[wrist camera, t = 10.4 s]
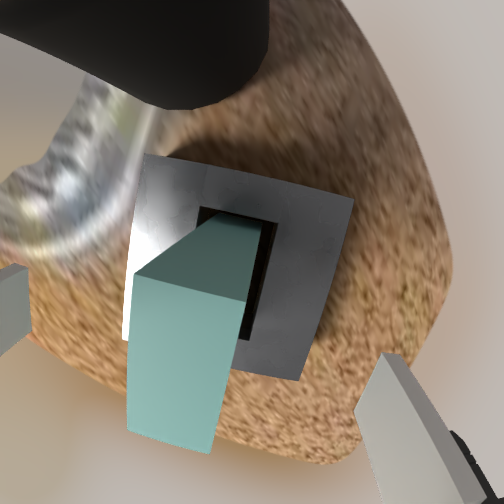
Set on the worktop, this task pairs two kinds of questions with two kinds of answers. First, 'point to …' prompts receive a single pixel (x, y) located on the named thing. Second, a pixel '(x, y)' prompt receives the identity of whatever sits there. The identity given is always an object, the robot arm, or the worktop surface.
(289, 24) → the worktop surface
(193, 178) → the block
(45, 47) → the coffee jar
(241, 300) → the keyed peg
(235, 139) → the worktop surface
